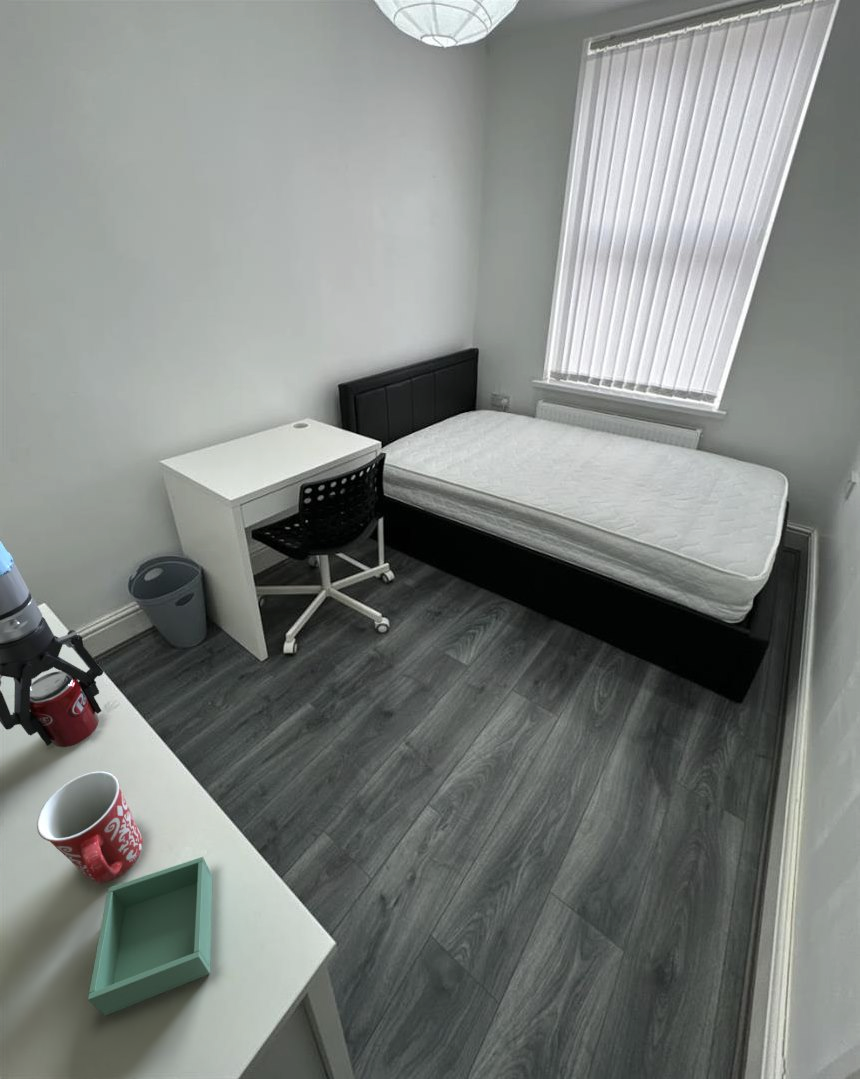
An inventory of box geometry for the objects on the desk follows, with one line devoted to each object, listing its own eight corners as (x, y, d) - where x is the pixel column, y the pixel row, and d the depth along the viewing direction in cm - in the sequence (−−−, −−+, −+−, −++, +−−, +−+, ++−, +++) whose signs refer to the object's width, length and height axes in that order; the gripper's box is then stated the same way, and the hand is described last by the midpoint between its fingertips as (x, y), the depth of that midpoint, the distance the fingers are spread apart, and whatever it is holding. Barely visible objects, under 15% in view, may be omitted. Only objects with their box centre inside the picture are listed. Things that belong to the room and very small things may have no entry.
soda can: (54, 757, 81) (24, 711, 75) (49, 728, 86) (20, 683, 79) (103, 733, 85) (78, 688, 79) (96, 707, 90) (71, 662, 83)
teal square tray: (122, 906, 64) (108, 887, 61) (212, 875, 67) (203, 856, 64) (105, 1015, 55) (87, 1000, 52) (210, 973, 58) (198, 956, 55)
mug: (74, 846, 70) (35, 795, 62) (143, 810, 74) (114, 758, 67) (82, 933, 61) (38, 886, 54) (159, 886, 66) (128, 836, 58)
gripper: (-65, 682, 63) (13, 780, 76) (96, 603, 77) (140, 696, 90) (-82, 657, 67) (-5, 754, 79) (75, 586, 81) (120, 678, 93)
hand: (72, 723), depth 84 cm, fingers closed on soda can, 7 cm apart
